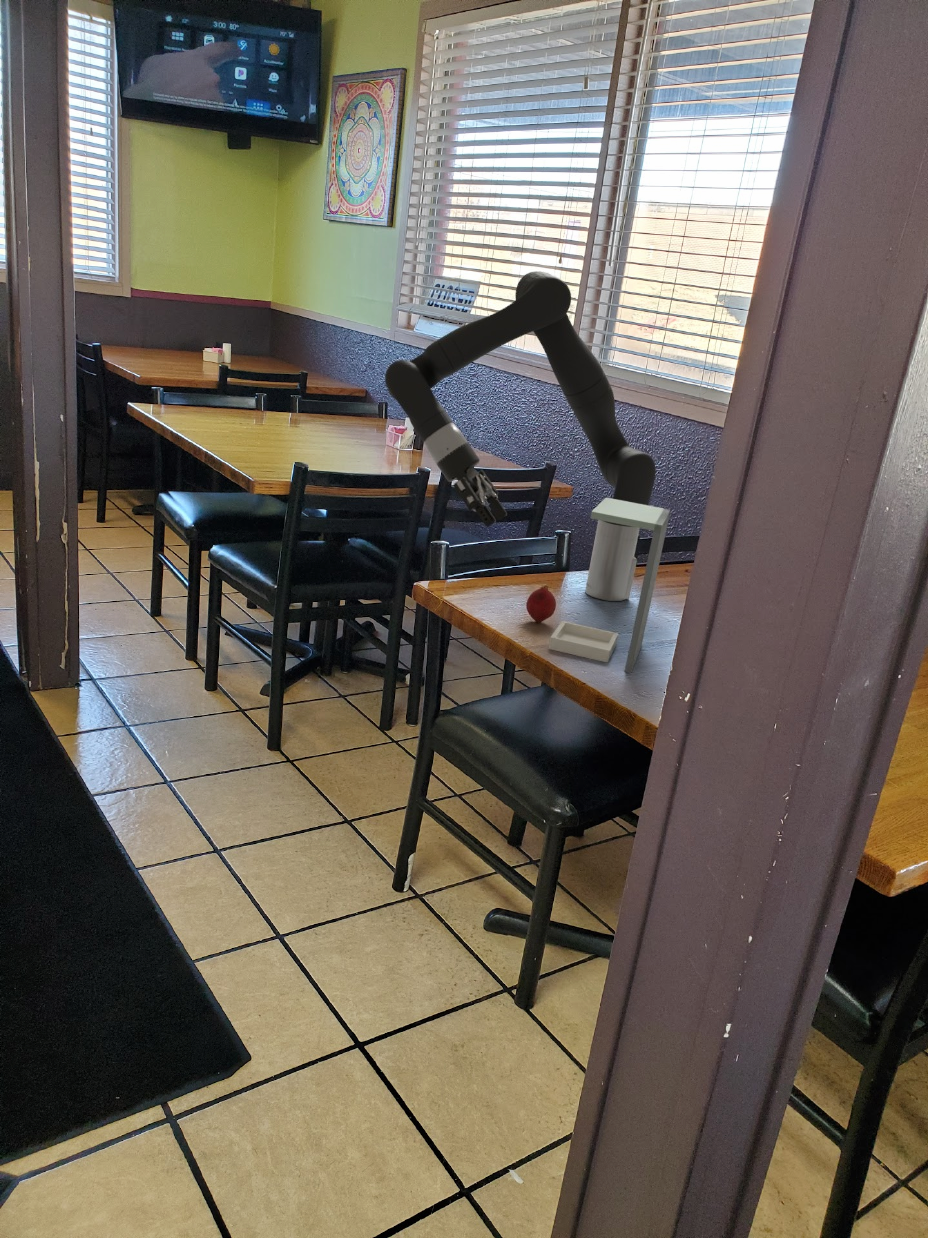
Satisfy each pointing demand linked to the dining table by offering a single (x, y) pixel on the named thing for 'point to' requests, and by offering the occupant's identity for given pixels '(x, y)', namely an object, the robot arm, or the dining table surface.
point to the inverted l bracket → (658, 523)
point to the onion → (541, 604)
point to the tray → (583, 641)
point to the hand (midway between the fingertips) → (497, 520)
